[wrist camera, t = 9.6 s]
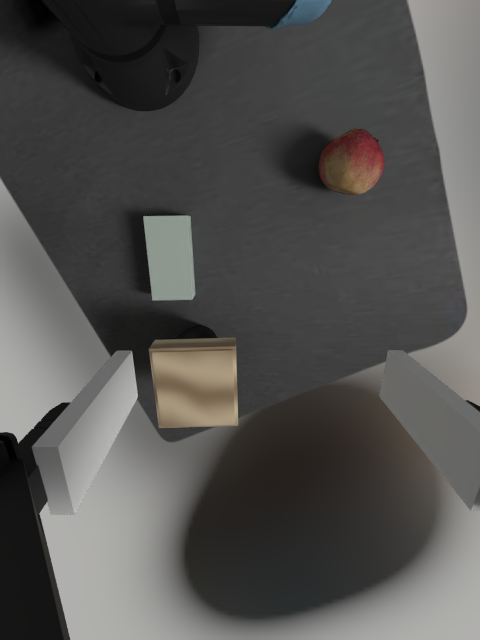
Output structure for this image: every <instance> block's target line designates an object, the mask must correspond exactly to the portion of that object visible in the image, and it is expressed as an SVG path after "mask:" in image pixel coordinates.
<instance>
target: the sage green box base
mask: <svg viewBox="0 0 480 640" xmlns="http://www.w3.org/2000/svg"><path fill="white" fill-rule="evenodd" d="M143 219H144V228H145V237H146V246H147V255H148V264H149V273H150V282H151V291H152V300H192V299H193V297H194V296H195V283H194V267H193V251H192V235H191V219H190V216H143Z"/></svg>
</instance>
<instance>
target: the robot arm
mask: <svg viewBox="0 0 480 640" xmlns="http://www.w3.org/2000/svg"><path fill="white" fill-rule="evenodd" d="M41 1H42V2H43V3H44V4H45V5H46V6H47V7H48V9H49V10H50V11H51V12H52V13H53V14H54V15H55V16H56V17H57V19H58V20H59V21H60V22H61V23H62V24H63V25H64V26H65V27H66V28H67V30H68V31H69V32H70V34H71V37H72V40H73V43H74V46H75V49H76V52H77V54H78V57H79V59H80V61H81V63H82V65H83V66H84V68H85V70H86V71H87V73H88V74H89V76H90V77H91V78H92V80H93V81H94V82H95V83H96V84H97V85H98V86H99V87H100V88H101V89H102V90H103V91H104V92H105V93H106V94H107V95H108V96H109V97H110V98H111V99H113V100H114V101H116V102H117V103H119V104H121V105H123V106H125V107H127V108H130V109H133V110H139V111H153V110H158V109H161V108H164V107H166V106H168V105H170V104H171V103H173V102H174V101H175V100H177V99H178V98H179V97H180V96H181V95H182V94H183V93H184V91H185V90H186V89H187V87H188V86H189V84H190V82H191V80H192V78H193V75H194V73H195V70H196V66H197V62H198V56H199V34H198V28H197V26H265V27H266V28H268V29H272V30H274V29H276V28H280V27H281V26H289V25H305V24H308V23H310V22H312V21H314V20H315V19H316V18H318V17H319V16H321V15H322V13H323V12H324V11H325V10H326V8H327V7H328V6H329V4H330V3H331V1H332V0H41ZM137 398H138V394H137V386H136V378H135V370H134V362H133V355H132V351H116V352H115V353H114V354H113V356H112V357H111V358H110V359H109V360H108V361H107V362H106V364H105V365H104V366H103V367H102V368H101V369H100V370H99V371H98V373H97V374H96V375H95V376H94V377H93V378H92V379H91V381H90V382H89V383H88V384H87V385H86V386H85V387H84V388H83V390H82V391H81V392H80V393H79V394H78V395H77V396H76V397H75V399H74V400H73V401H72V402H71V403H61V404H60V405H58V406H56V407H55V408H53V409H51V410H50V411H49V412H48V413H47V414H46V415H45V416H44V417H43V418H42V419H41V421H39V422H38V423H37V425H36V426H35V427H34V429H32V430H31V431H30V432H29V433H28V434H27V435H26V436H25V437H24V438H23V439H22V440H21V441H20V442H19V443H18V442H17V439H16V437H15V436H14V434H12V433H8V432H4V433H0V640H70V637H69V633H68V628H67V624H66V620H65V616H64V612H63V608H62V604H61V600H60V596H59V591H58V588H57V583H56V579H55V575H54V571H53V567H52V563H51V558H50V555H49V550H48V546H47V542H46V538H45V534H44V530H43V526H42V522H41V518H40V515H39V513H40V512H41V510H42V508H43V507H44V505H45V504H46V502H47V503H48V506H49V510H50V513H51V515H65V514H67V515H68V514H70V515H71V514H75V513H76V511H77V509H78V507H79V505H80V503H81V501H82V500H83V498H84V496H85V494H86V492H87V490H88V489H89V487H90V485H91V483H92V481H93V479H94V477H95V476H96V474H97V472H98V470H99V468H100V466H101V465H102V463H103V461H104V459H105V457H106V455H107V453H108V452H109V450H110V448H111V446H112V444H113V442H114V440H115V439H116V437H117V435H118V433H119V431H120V429H121V427H122V425H123V424H124V422H125V420H126V418H127V416H128V415H129V413H130V411H131V409H132V407H133V405H134V403H135V401H136V400H137ZM380 398H381V399H382V400H383V401H384V403H385V404H386V405H387V406H388V408H389V409H390V410H391V411H392V413H393V414H394V415H395V416H396V418H397V419H398V420H399V421H400V423H401V424H402V425H403V427H404V428H405V429H406V430H407V432H408V433H409V434H410V435H411V437H412V438H413V439H414V440H415V442H416V443H417V444H418V445H419V446H420V448H421V449H422V450H423V452H424V453H425V454H426V455H427V456H428V458H429V459H430V460H431V462H432V463H433V464H434V465H435V466H436V468H437V469H438V470H439V472H440V473H441V474H442V475H443V477H444V478H445V479H446V480H447V482H448V483H449V484H450V485H451V487H452V488H453V489H454V490H455V491H456V493H457V494H458V495H459V496H460V498H461V499H462V500H463V501H464V503H465V504H466V505H467V506H468V508H469V509H470V510H471V511H480V406H478V405H476V404H474V403H472V402H470V401H468V400H464V399H463V398H461V397H460V396H459V395H458V394H457V393H455V392H454V391H453V390H451V389H450V388H449V387H448V386H447V385H445V384H444V383H443V382H442V381H440V380H439V379H438V378H436V377H435V376H434V375H433V374H432V373H430V372H429V371H428V370H427V369H425V368H424V367H423V366H421V365H420V364H419V363H418V362H416V361H415V360H414V359H413V358H411V357H410V356H409V355H408V354H407V353H405V352H404V351H403V350H388V354H387V359H386V365H385V370H384V375H383V380H382V386H381V391H380Z"/></svg>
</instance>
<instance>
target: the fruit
mask: <svg viewBox="0 0 480 640" xmlns="http://www.w3.org/2000/svg"><path fill="white" fill-rule="evenodd" d="M384 163H385V160H384V155H383V152H382V150H381V147H380V145H379V143H378V140H376V138H374V137H372V136H371V134H369V132H368V131H366V130H363V129H356V128H353V129H352V130H350V131H349V132H346V133H345V134H343V135H341V136H340V137H338V138H336V139H335V140H333V141H332V142H330V143H329V144H328V145H327V146H326V147H325V148H324V150H323V151H322V153H321V156H320V160H319V175H320V178H321V180H322V182H323V183H324V184H325V185H326V186H327V187H328V188H330V189H332V190H334V191H336V192H339V193H342V194H348V195H358V194H362V193H364V192H366V191H367V190H369V189H370V188H372V187H373V186H374V185H375V184H376V182H377V181H378V179H379V177H380V175H381V174H382V171H383V169H384Z"/></svg>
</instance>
